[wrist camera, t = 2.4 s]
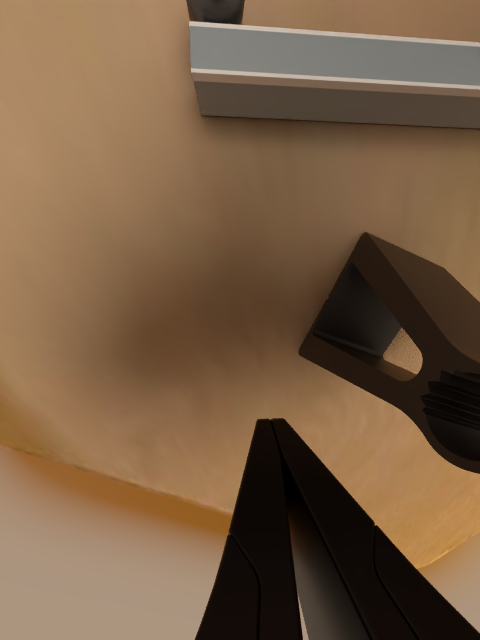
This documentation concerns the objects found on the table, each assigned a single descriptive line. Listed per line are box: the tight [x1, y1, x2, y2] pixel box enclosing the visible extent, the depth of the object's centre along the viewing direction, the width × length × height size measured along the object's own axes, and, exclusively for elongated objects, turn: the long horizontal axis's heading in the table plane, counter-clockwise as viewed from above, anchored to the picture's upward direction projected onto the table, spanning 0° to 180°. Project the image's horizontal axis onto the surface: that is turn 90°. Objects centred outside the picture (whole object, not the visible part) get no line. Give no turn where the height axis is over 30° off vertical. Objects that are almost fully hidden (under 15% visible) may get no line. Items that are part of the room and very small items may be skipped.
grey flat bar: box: [189, 21, 480, 128], centre depth 11 cm, size 18×1×4 cm, turn 89°
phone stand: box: [299, 232, 480, 474], centre depth 12 cm, size 9×6×12 cm, turn 158°
